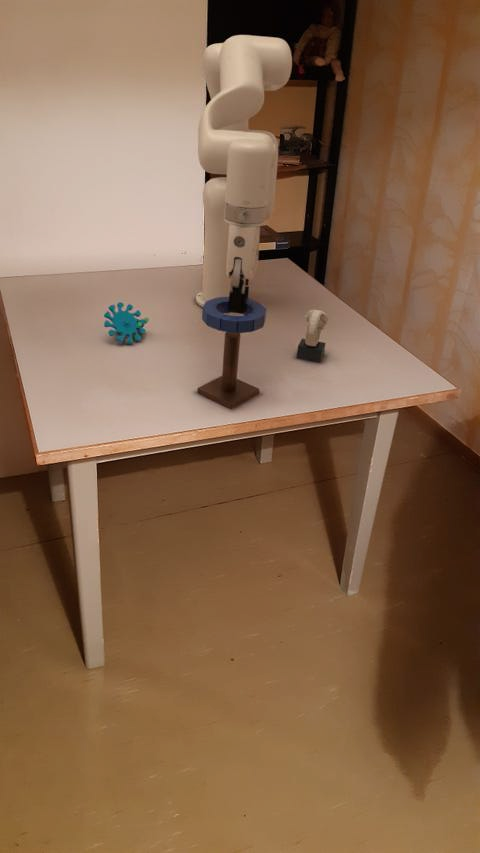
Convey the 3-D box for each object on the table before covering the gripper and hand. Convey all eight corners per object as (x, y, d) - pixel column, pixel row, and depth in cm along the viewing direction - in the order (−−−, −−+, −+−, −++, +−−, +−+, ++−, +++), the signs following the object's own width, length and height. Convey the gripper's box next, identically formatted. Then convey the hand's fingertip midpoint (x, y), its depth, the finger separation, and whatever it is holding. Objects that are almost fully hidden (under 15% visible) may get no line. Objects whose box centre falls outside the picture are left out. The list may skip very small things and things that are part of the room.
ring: (229, 303, 135) (230, 292, 133) (276, 321, 129) (278, 309, 127) (190, 319, 126) (190, 307, 125) (238, 338, 121) (239, 326, 119)
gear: (111, 343, 148) (101, 301, 149) (101, 352, 153) (92, 312, 154) (155, 340, 154) (145, 300, 156) (145, 350, 159) (135, 311, 160)
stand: (225, 378, 141) (229, 320, 134) (259, 393, 137) (265, 334, 130) (197, 393, 135) (199, 333, 128) (231, 409, 131) (236, 348, 124)
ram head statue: (325, 351, 156) (332, 307, 150) (318, 366, 150) (325, 320, 144) (301, 347, 157) (307, 303, 151) (294, 361, 151) (300, 315, 145)
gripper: (259, 227, 114) (250, 327, 124) (270, 205, 128) (261, 296, 138) (216, 222, 115) (211, 321, 125) (232, 200, 129) (226, 291, 138)
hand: (237, 307), depth 131 cm, fingers closed on ring, 2 cm apart
